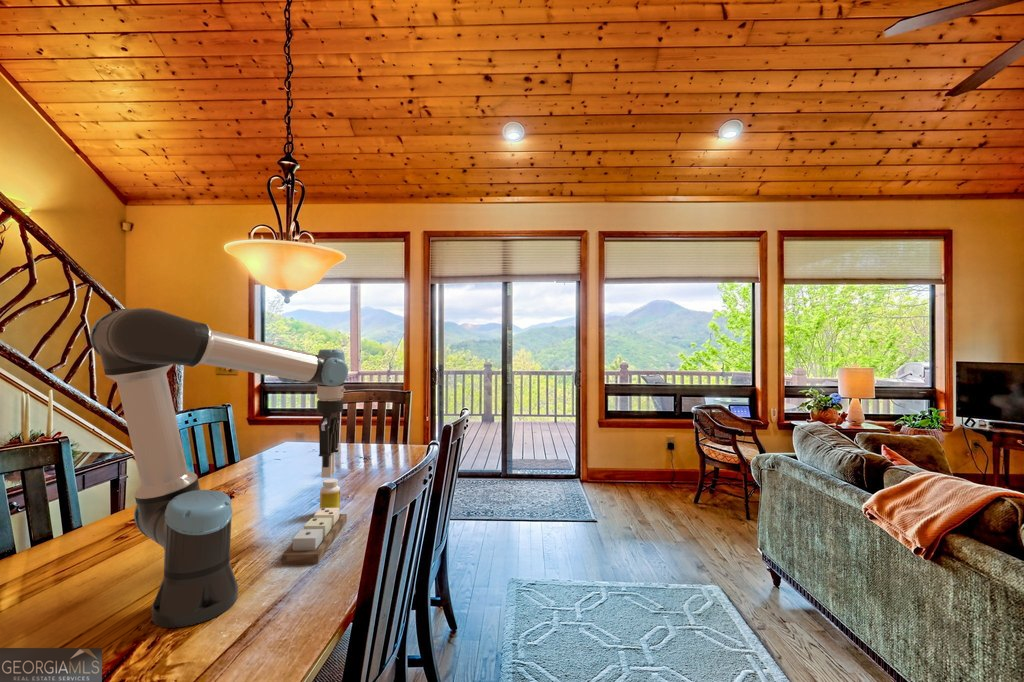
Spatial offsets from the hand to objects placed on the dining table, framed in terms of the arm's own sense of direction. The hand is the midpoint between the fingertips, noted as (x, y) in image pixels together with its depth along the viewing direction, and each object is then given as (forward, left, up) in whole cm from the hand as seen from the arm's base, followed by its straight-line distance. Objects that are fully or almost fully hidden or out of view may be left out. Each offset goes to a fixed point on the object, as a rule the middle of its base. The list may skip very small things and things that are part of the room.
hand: (328, 475), depth 135 cm
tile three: (0, 0, -14) cm, 14 cm away
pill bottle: (+13, +3, -17) cm, 21 cm away
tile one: (-16, 0, -14) cm, 21 cm away
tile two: (-8, 0, -14) cm, 16 cm away
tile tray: (-8, 0, -17) cm, 18 cm away
